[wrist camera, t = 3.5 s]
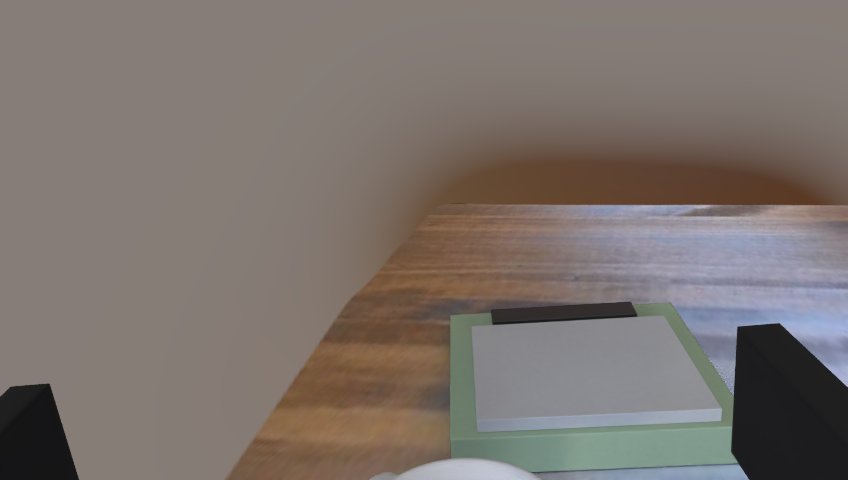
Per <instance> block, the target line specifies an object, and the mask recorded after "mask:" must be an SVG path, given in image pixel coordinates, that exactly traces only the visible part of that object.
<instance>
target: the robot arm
mask: <svg viewBox="0 0 848 480" xmlns="http://www.w3.org/2000/svg"><path fill="white" fill-rule="evenodd" d="M731 453H732V454H733V456H734V457H735V459H736V460H737V462H738V463H739V465H740V466H741V468H742V469H743V471H744V472H745V474H746V475H747V477H748V478H749V480H848V387H847V386H846V385H845V384H843V383H842V382H841V381H840V380H839V379H838V378H837V377H836V376H835V375H834V374H833V373H832V372H831V371H830V370H829V369H827V368H826V367H825V366H824V365H823V364H822V363H821V362H820V361H819V360H818V359H817V358H816V357H815V356H814V355H813V354H812V353H810V352H809V351H808V350H807V349H806V348H805V347H804V346H803V345H802V344H801V343H800V342H799V341H798V340H797V339H796V338H794V337H793V336H792V335H791V334H790V333H789V332H788V331H787V330H786V329H785V328H784V327H783V326H782V325H781V324H780V323H777V324H765V325H753V326H740V327H737V346H736V365H735V384H734V403H733V422H732V440H731ZM0 480H79V478H78V475H77V472H76V469H75V465H74V462H73V459H72V456H71V452H70V449H69V446H68V443H67V439H66V436H65V433H64V429H63V426H62V423H61V420H60V416H59V413H58V410H57V406H56V403H55V400H54V397H53V393H52V390H51V387H50V384H38V385H26V386H14V387H10V388H9V389H8V390H7V391H6V392H5V393H4V394H3V395H2V396H1V397H0Z"/></svg>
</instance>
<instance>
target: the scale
mask: <svg viewBox="0 0 848 480" xmlns="http://www.w3.org/2000/svg"><path fill="white" fill-rule="evenodd" d="M733 403H734V396H733V395H732V393H731V392H730V390H729V389H728V387H727V386H726V384H725V383H724V381H723V380H722V378H721V377H720V375H719V374H718V372H717V371H716V369H715V368H714V366H713V365H712V363H711V362H710V360H709V359H708V357H707V356H706V354H705V353H704V351H703V350H702V348H701V347H700V345H699V344H698V342H697V341H696V339H695V338H694V336H693V335H692V334H691V332H690V331H689V329H688V328H687V326H686V325H685V323H684V322H683V320H682V319H681V317H680V316H679V314H678V313H677V311H676V310H675V308H674V307H673V305H672V304H671V303H655V304H638V305H632V303H631V302H617V303H600V304H583V305H565V306H548V307H531V308H513V309H496V310H491V313H481V314H464V315H451V316H450V445H451V457H452V458H483V459H492V460H497V461H501V462H505V463H509V464H513V465H516V466H518V467H520V468H523V469H525V470H528V471H530V472H549V471H572V470H595V469H618V468H641V467H664V466H687V465H711V464H734V463H738V462H737V460H736V459H735V457H734V456H733V454H732V453H731V440H732V422H733Z"/></svg>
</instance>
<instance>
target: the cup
mask: <svg viewBox="0 0 848 480" xmlns="http://www.w3.org/2000/svg"><path fill="white" fill-rule="evenodd" d="M369 480H543V479H542V478H540V477H539V476H537V475H535V474H533V473H532V472H530V471H528V470H525V469H523V468H520V467H518V466H516V465H513V464H509V463H505V462H501V461H497V460H492V459H483V458H452V459H445V460H439V461H434V462H431V463H427V464H424V465H420V466H418V467H415V468H412V469H410V470H408V471H406V472H404V473H402V474H400V475H396V474H394V473H391V472H385V473H381V474H379V475H376V476H374V477H372V478H371V479H369Z"/></svg>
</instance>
